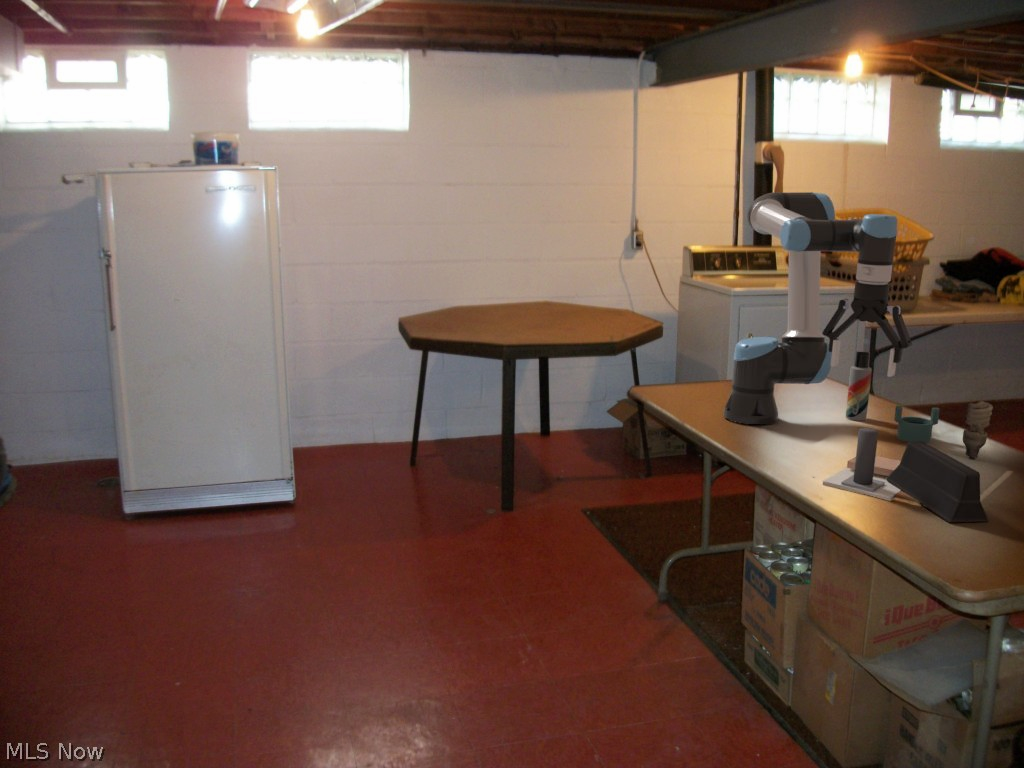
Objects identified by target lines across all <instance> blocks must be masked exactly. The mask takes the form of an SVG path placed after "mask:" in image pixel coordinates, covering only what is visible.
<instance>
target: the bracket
mask: <svg viewBox="0 0 1024 768" xmlns="http://www.w3.org/2000/svg"><path fill="white" fill-rule="evenodd" d="M902 415H903V406H902V405H895V411H894V418H893V419H894V422H896V423H898V426H897V432H896V433H897V434H896V438H898V440H900V441H903V442H906V443H908V442H909V441H923V442H925V443H926V444H929V443H931V441H932V434H933V433H932V432H933V426H935V425H938V424H939V417H940V407H932V408H931V413H930V419H929V418H925V417H920V416H919V417H918V416H902Z"/></svg>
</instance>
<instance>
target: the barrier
mask: <svg viewBox="0 0 1024 768" xmlns="http://www.w3.org/2000/svg"><path fill="white" fill-rule="evenodd" d="M900 461H901V462H900V464H899V465H898V467H897V468H896V469H895V470H894V471H893V472H892V473H891V474H890V475H889V477H888V478H887V481H888V482H889V483H891V484H892V485H894V486H895V487H897V488H898V489H900V490H901V491H900V492H903V493H904V494H907V495H908V496H909V497H911V498H913V499H914V500H917V501H918V503H919V504H921V505H923V506H924V507H926V508H927V509H928V510H930V511H931V512H933V513H935V514H936V515H937V516H939V517H940V518H942V519H943V520H945V521H946V522H947V523H969V522H971V523H975V522H978V523H979V522H981V523H982V522H989V519H988V517H987V514H986V512H985V509H984V507H983V504H982V502H981V473H980V472H979V471H977V470H975V469H973V468H971V467H970V466H968V465H967V464H964V463H963V462H961V461H960V460H957V459H956V458H954V457H952V456H950V455H948V454H947V453H944V452H943V451H940V450H939V449H937V448H936V447H933V446H932V445H930V444H929V443H925V442H923V441H909V442H907V444H906V447H905V449H904V452H903V455H902V458H901V460H900Z"/></svg>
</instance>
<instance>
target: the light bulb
mask: <svg viewBox="0 0 1024 768" xmlns="http://www.w3.org/2000/svg"><path fill="white" fill-rule="evenodd" d="M967 407H968V408H967V409H966V412H967V414H966V415H965V416H966V417H965V418H966V420H965V424H966V425H968V426H969V428H967V429H965V430H963V432H962V442H963V444H964V446H965V455H966V456H967V457H968V458H969V460H975V459H977V458H978V457H979V453H980V450H981V449H982V448H983V447H984V446H985V444H986V443H987V438H988V433H987V432H986V431H985V430H984V429H985V428H987V427H989V426H990V420H991V416H992V414H993V413H992V410H993V409H994V407H993V405H992V404H991V403H989V402H986V401H983V400H978V401H977V402H976V403H974V402H969V403H967Z"/></svg>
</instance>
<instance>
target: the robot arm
mask: <svg viewBox="0 0 1024 768" xmlns="http://www.w3.org/2000/svg"><path fill="white" fill-rule="evenodd" d="M833 203H834V202H833V201H832V199H831V198H830V197H829V195H827V194H825V193H821V192H819V193H818V192H817V193H816V192H813V191H811V192H806V191H805V192H781V191H776V192H775V191H774V192H769V193H765V194H763V195H761V196H759V197H757V198H756V199H755V200H753V202H751V204H750V205H749V207H748V208H747V209H748V210H747V213H746V217H747V222H748V225H749V226H750V228H752V230H754V231H755V232H757V233H759V234H761V235H771V236H773V237H775V238H777V239H779V240H780V244H781V247H782V249H784V250H785V251H788V273H787V275H788V276H787V280H788V284H787V287H788V289H787V330H786V332H785V333H784V334H783V335H782V336H781V342H779V340H778V338H775V337H771V336H757V337H756V336H754V337H748V338H743V339H741V340H739V341H738V342H737V343H736V344H735V348H734V354H733V358H732V359H733V368H732V371H733V372H732V381H731V382H732V384H731V385H732V386H731V392H730V395H729V397H728V398H727V399H728V400H727V401H726V404H725V406H724V408H723V418H724V417H726V418H727V419H729V420H732V421H736V422H740V423H739V424H741V423H746V424H745V425H748V424H761V425H760V426H763V425H762V424H768V425H772V424H775V423H777V422H778V420H779V410H778V407H777V402H776V398H775V393H774V392H775V384H782V385H783V384H784V385H786V384H789V385H791V384H796V385H797V384H798V385H801V384H804V385H810V384H812V385H813V384H820V383H822V382H823V381H825V380H826V379H827V378H828V375H829V374H830V372H831V369H832V367H833V368H834V367H836V366H839V361H840V360H839V359H840V353H841V352H840V351H841V350H840V349H841V342H842V339H841V338H839V337H840V336H841V335H842V334H843V333H845V332H846V330H847V329H849V328H850V327H851V326H852V325H853V324H854V323H855V322H856V321H859V322H867V323H872V324H873V323H876V324H877V326H879V327H880V328H881V330H882V331H883V333H884V335H885V336H886V337H887V339H888V341H889V342H890V343H891V345H892V346H893V347H892V348H891V349H890V350H889V359H888V365H887V366H888V367H887V375H886V376H887V377H888V378H891V377H894V376H896V375H895V374H896V368H897V364H899V363H900V362H901V361H902V355H903V354H902V353H903V349H907V348H910V347H911V346H912V345H913V343H912V341H911V337H910V334H909V332H908V331H909V330H908V329H907V326H906V324H905V323H906V322H905V320H904V317H903V316H902V314H903V313H902V311H903V310H902V306H901V305H900V304H898V305H893V306H891V305H889V297H890V296H889V295H890V287H891V285H890V283H889V282H891V280H892V272H893V264H894V263H893V262H894V254H895V249H896V248H895V247H896V240H897V235H898V218H897V216H896V215H893V214H882V213H881V214H880V213H878V214H877V213H870V214H865V215H864V216H863V218H862V219H861V218H851V219H836V210H835V207H834V204H833ZM821 252H837V253H838V252H839V253H840V252H843V253H844V252H845V253H847V252H849V253H858V255H857V256H858V258H857V264H856V265H857V267H856V275H855V279H856V280H857V281H856V282H855V283H854V291H853V299H852V300H849V299H848V298H843V299H840V300H839V301H838V302H839V303H838V306H837V309H836V311H835V312H834V313H833V315H832V317H831V318H830V320H829V322H827V325H826V326H825V328H824V329H823V331H822V332H821V331H820V308H821V307H820V306H821V304H820V302H821V298H820V297H821V255H822V253H821ZM849 308H851V309H852V311H853V313H852V314H851V315H850V316H849V317H848V318H847V319H846V320H844V322H843V323H841V324H840V325H839V326H838V327H837V328H836V326H837V324H839V322H840V320H841V319H842V318H843V316H844V314H845V313H846V311H847V310H849ZM888 312H889V314H890V315H891V316H892V321H893V323H894V325H895V329H896V331H897V332H896V331H895V329H894V328H893V327H892V325H891V324H890V323H889V322H890V321H889V319H888V317H886V314H887V313H888ZM835 328H836V329H835ZM834 329H835V330H834ZM897 334H898V335H897ZM825 337H827V338H829V343H827V342H826V341H825ZM726 418H725V419H726ZM727 419H726V420H727ZM729 420H728V421H729ZM732 421H731V422H732ZM736 422H735V423H736Z"/></svg>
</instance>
